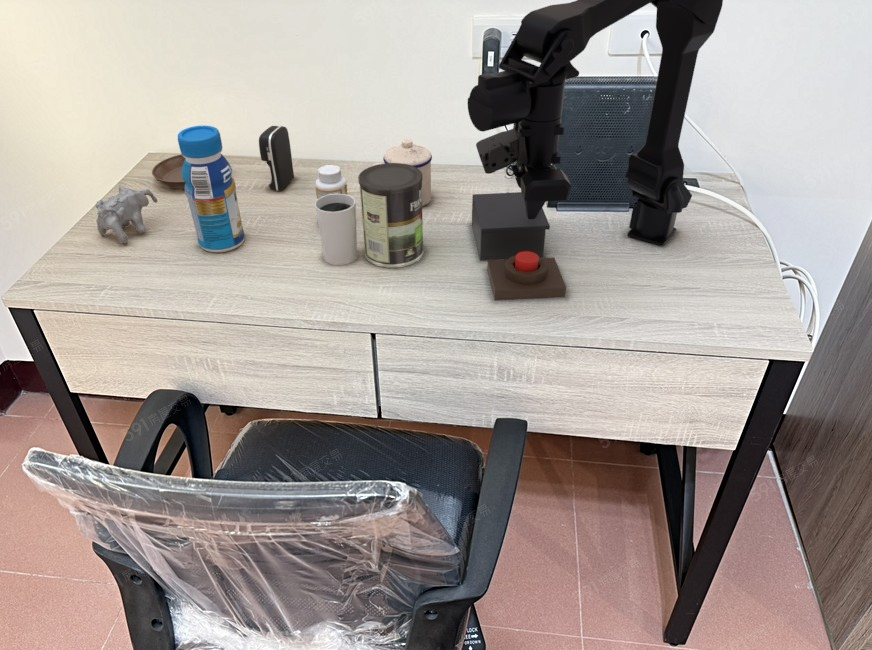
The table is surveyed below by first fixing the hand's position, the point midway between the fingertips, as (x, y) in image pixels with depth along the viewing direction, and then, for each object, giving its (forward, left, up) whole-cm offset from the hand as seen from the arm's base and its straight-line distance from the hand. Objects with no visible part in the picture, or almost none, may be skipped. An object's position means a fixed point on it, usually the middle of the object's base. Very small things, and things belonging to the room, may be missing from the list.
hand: (531, 218), depth 107 cm
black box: (+9, -9, -11) cm, 17 cm away
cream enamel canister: (+34, -12, -11) cm, 38 cm away
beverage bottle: (+51, +19, -11) cm, 56 cm away
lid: (+9, -9, -6) cm, 14 cm away
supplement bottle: (+39, +2, -11) cm, 41 cm away
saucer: (+77, +4, -11) cm, 78 cm away
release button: (0, +1, -8) cm, 8 cm away
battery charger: (+59, -4, -11) cm, 60 cm away
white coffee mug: (+30, +11, -11) cm, 34 cm away
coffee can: (+23, +5, -11) cm, 26 cm away
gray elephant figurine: (+69, +25, -11) cm, 74 cm away
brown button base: (0, +1, -11) cm, 11 cm away
